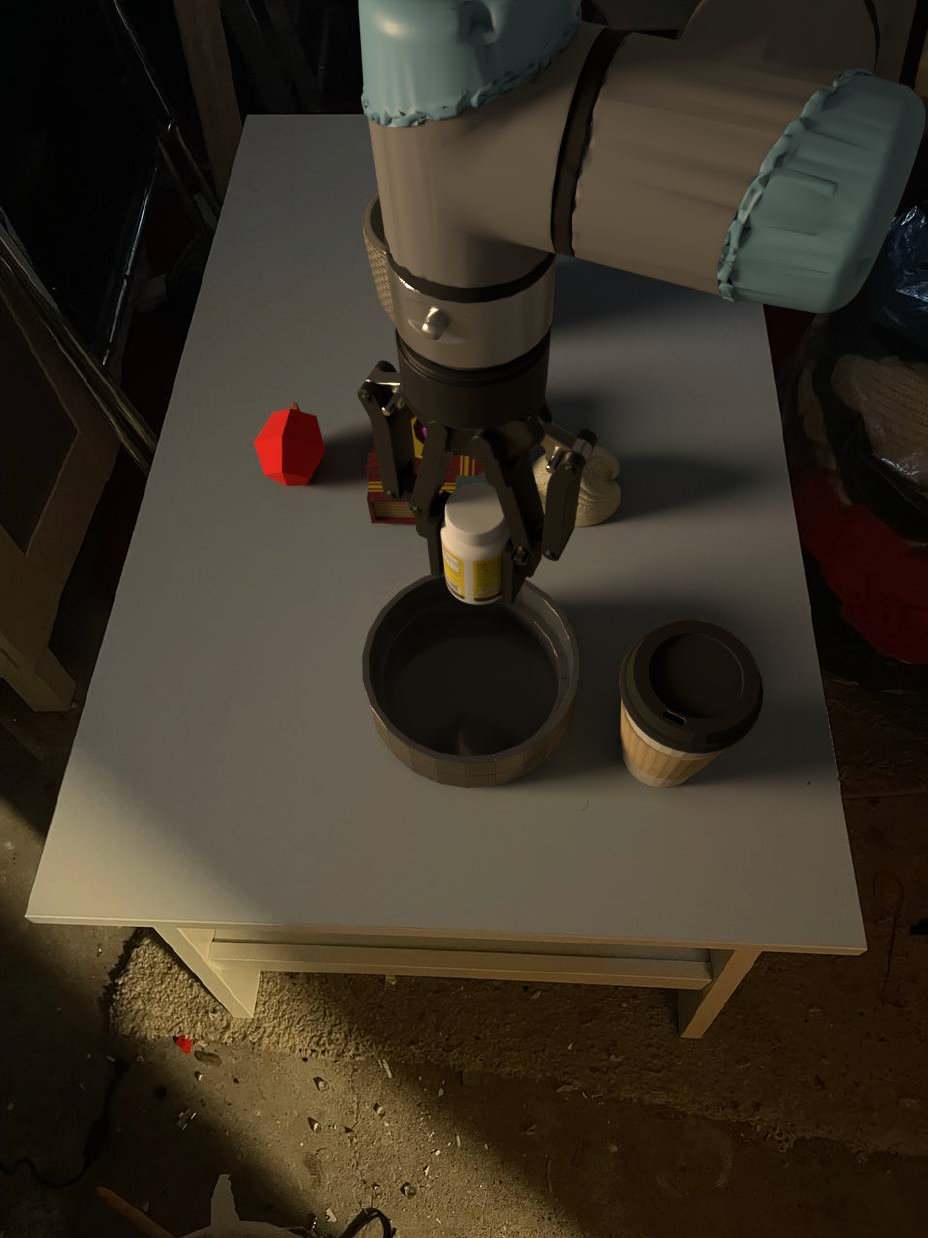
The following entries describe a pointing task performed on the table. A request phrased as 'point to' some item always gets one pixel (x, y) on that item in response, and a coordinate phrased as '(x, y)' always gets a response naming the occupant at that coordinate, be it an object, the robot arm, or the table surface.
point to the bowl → (470, 682)
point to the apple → (290, 446)
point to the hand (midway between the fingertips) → (478, 574)
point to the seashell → (589, 486)
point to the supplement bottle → (474, 543)
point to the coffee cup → (685, 699)
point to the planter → (377, 251)
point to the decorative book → (457, 475)
